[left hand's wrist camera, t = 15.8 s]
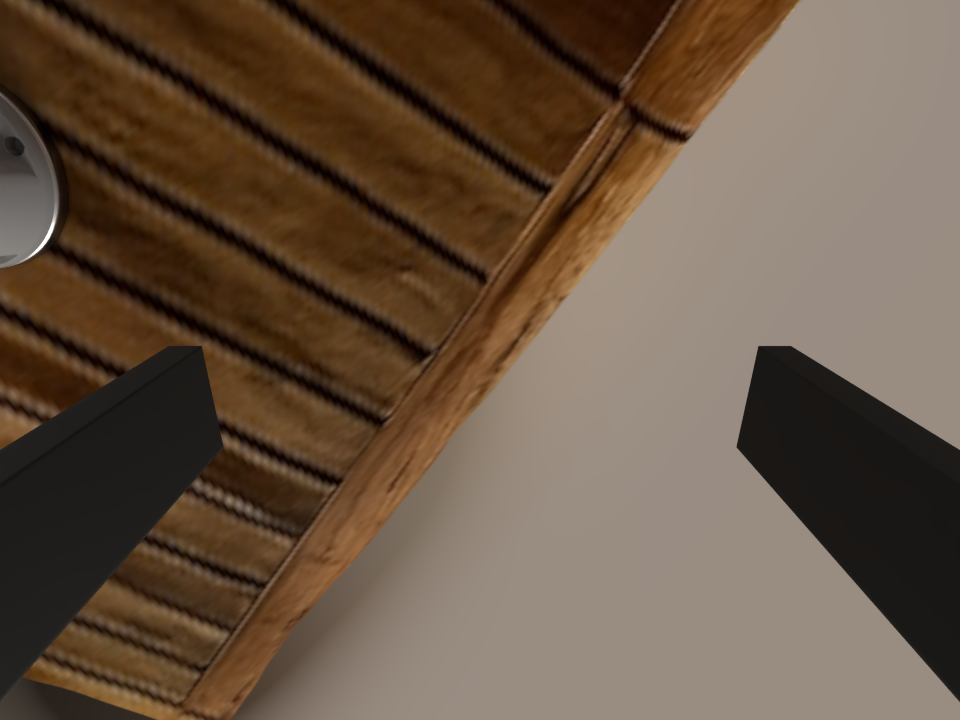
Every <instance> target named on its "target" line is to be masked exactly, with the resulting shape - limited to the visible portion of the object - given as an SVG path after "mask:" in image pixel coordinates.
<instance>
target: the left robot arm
mask: <svg viewBox="0 0 960 720" xmlns="http://www.w3.org/2000/svg"><path fill="white" fill-rule="evenodd" d="M67 210H68V189H67V182H66V177H65V173H64V169H63V166H62V163H61V160H60V158H59V155H58V153H57V151H56V149H55V147H54V144H53V143H52V141H51V139H50V137H49V136H48V134H47V132H46V131H45V129H44V128H43V127H42V125H41V124H40V122H39V121H38V120H37V119H36V117H35V116H34V115H33V114H32V112H31V111H30V110H29V109H28V108H27V107H26V106H25V105H24V104H23V103H22V102H21V101H20V100H19V99H18V98H17V97H16V96H15V95H13V94H12V93H11V92H10V91H8V90H7V89H6V88H5V87H3V86H2V85H0V269H1V268H6V267H10V266H14V265H18V264H22V263H26V262H28V261H31V260H33V259H35V258H37V257H39V256H40V255H42V254H43V253H45V252H46V251H47V250H48V249H49V248H50V247H51V246H52V245H53V244H54V243H55V241H56V240H57V238H58V237H59V235H60V233H61V231H62V229H63V226H64V223H65V220H66V216H67ZM222 448H223V443H222V438H221V433H220V429H219V424H218V420H217V415H216V410H215V406H214V401H213V397H212V392H211V387H210V383H209V378H208V374H207V369H206V364H205V360H204V355H203V351H202V346H168V347H167V348H165V349H164V350H162V351H160V352H159V353H157V354H155V355H154V356H152V357H151V358H149V359H147V360H146V361H144V362H142V363H141V364H139V365H138V366H136V367H134V368H133V369H131V370H129V371H128V372H126V373H125V374H123V375H121V376H120V377H118V378H116V379H115V380H113V381H112V382H110V383H108V384H107V385H105V386H103V387H102V388H100V389H99V390H97V391H95V392H94V393H92V394H90V395H89V396H87V397H86V398H84V399H82V400H81V401H79V402H77V403H76V404H74V405H73V406H71V407H69V408H68V409H66V410H64V411H63V412H61V413H60V414H58V415H56V416H55V417H53V418H51V419H50V420H48V421H47V422H45V423H43V424H42V425H40V426H38V427H37V428H35V429H34V430H32V431H30V432H29V433H27V434H25V435H24V436H22V437H21V438H19V439H17V440H16V441H14V442H13V443H11V444H9V445H8V446H6V447H4V448H3V449H1V450H0V702H1V700H2V699H3V698H4V697H5V696H6V695H7V694H8V692H9V691H10V690H11V689H12V688H13V687H14V686H15V684H16V683H17V682H18V681H19V680H20V679H21V678H22V676H23V675H24V674H25V673H26V672H27V671H28V670H29V668H30V667H31V666H32V665H33V664H34V663H35V662H36V660H37V659H38V658H39V657H40V656H41V655H42V654H43V652H44V651H45V650H46V649H47V648H48V647H49V646H50V645H51V643H52V642H53V641H54V640H55V639H56V638H57V637H58V635H59V634H60V633H61V632H62V631H63V630H64V629H65V627H66V626H67V625H68V624H69V623H70V622H71V621H72V619H73V618H74V617H75V616H76V615H77V614H78V613H79V611H80V610H81V609H82V608H83V607H84V606H85V605H86V603H87V602H88V601H89V600H90V599H91V598H92V597H93V595H94V594H95V593H96V592H97V591H98V590H99V589H100V587H101V586H102V585H103V584H104V583H105V582H106V581H107V579H108V578H109V577H110V576H111V575H112V574H113V573H114V571H115V570H116V569H117V568H118V567H119V566H120V565H121V564H122V562H123V561H124V560H125V559H126V558H127V557H128V556H129V554H130V553H131V552H132V551H133V550H134V549H135V548H136V546H137V545H138V544H139V543H140V542H141V541H142V540H143V538H144V537H145V536H146V535H147V534H148V533H149V532H150V530H151V529H152V528H153V527H154V526H155V525H156V524H157V522H158V521H159V520H160V519H161V518H162V517H163V516H164V514H165V513H166V512H167V511H168V510H169V509H170V508H171V506H172V505H173V504H174V503H175V502H176V501H177V500H178V498H179V497H180V496H181V495H182V494H183V493H184V492H185V491H186V489H187V488H188V487H189V486H190V485H191V484H192V483H193V481H194V480H195V479H196V478H197V477H198V476H199V475H200V473H201V472H202V471H203V470H204V469H205V468H206V467H207V465H208V464H209V463H210V462H211V461H212V460H213V459H214V457H215V456H216V455H217V454H218V453H219V452H220V451H221V449H222ZM737 448H738V449H739V451H740V452H741V453H742V454H743V455H744V456H745V457H746V458H747V460H748V461H749V462H750V463H751V464H752V465H753V467H754V468H755V469H756V470H757V471H758V472H759V473H760V474H761V476H762V477H763V478H764V479H765V480H766V481H767V483H768V484H769V485H770V486H771V487H772V488H773V489H774V490H775V492H776V493H777V494H778V495H779V496H780V497H781V498H782V500H783V501H784V502H785V503H786V504H787V505H788V506H789V508H790V509H791V510H792V511H793V512H794V513H795V514H796V516H797V517H798V518H799V519H800V520H801V521H802V522H803V524H804V525H805V526H806V527H807V528H808V529H809V530H810V532H811V533H812V534H813V535H814V536H815V537H816V538H817V540H818V541H819V542H820V543H821V544H822V545H823V546H824V548H825V549H826V550H827V551H828V552H829V553H830V554H831V556H832V557H833V558H834V559H835V560H836V561H837V562H838V564H839V565H840V566H841V567H842V568H843V569H844V570H845V571H846V573H847V574H848V575H849V576H850V577H851V578H852V579H853V581H854V582H855V583H856V584H857V585H858V586H859V587H860V589H861V590H862V591H863V592H864V593H865V594H866V595H867V597H868V598H869V599H870V600H871V601H872V602H873V603H874V605H875V606H876V607H877V608H878V609H879V610H880V611H881V613H882V614H883V615H884V616H885V617H886V618H887V619H888V620H889V622H890V623H891V624H892V625H893V626H894V627H895V628H896V630H897V631H898V632H899V633H900V634H901V635H902V637H903V638H904V639H905V640H906V641H907V642H908V643H909V644H910V646H911V647H912V648H913V649H914V650H915V651H916V652H917V654H918V655H919V656H920V657H921V658H922V659H923V660H924V662H925V663H926V664H927V665H928V666H929V667H930V668H931V670H932V671H933V672H934V673H935V674H936V675H937V676H938V678H939V679H940V680H941V681H942V682H943V683H944V684H945V686H946V687H947V688H948V689H949V690H950V691H951V692H952V694H953V695H954V696H955V697H956V698H957V699H958V700H959V701H960V450H959V449H957V448H956V447H954V446H952V445H951V444H949V443H947V442H946V441H944V440H943V439H941V438H939V437H938V436H936V435H935V434H933V433H931V432H930V431H928V430H926V429H925V428H923V427H921V426H920V425H918V424H917V423H915V422H913V421H912V420H910V419H909V418H907V417H905V416H904V415H902V414H900V413H899V412H897V411H896V410H894V409H892V408H891V407H889V406H887V405H886V404H884V403H883V402H881V401H879V400H878V399H876V398H874V397H873V396H871V395H870V394H868V393H866V392H865V391H863V390H861V389H860V388H858V387H857V386H855V385H853V384H852V383H850V382H848V381H847V380H845V379H844V378H842V377H840V376H839V375H837V374H835V373H834V372H832V371H831V370H829V369H827V368H826V367H824V366H822V365H821V364H819V363H818V362H816V361H814V360H813V359H811V358H809V357H808V356H806V355H805V354H803V353H801V352H800V351H798V350H796V349H795V348H793V347H792V346H759V347H758V351H757V355H756V360H755V365H754V369H753V374H752V378H751V383H750V387H749V392H748V397H747V401H746V406H745V410H744V415H743V420H742V424H741V429H740V433H739V438H738V443H737Z"/></svg>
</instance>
